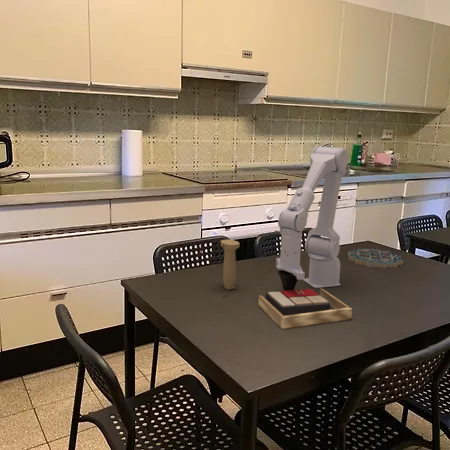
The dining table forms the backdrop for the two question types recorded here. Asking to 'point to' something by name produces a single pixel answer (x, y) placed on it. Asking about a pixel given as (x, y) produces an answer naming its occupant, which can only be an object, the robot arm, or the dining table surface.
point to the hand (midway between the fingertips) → (288, 294)
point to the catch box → (336, 314)
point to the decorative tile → (375, 258)
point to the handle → (229, 263)
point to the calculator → (297, 301)
